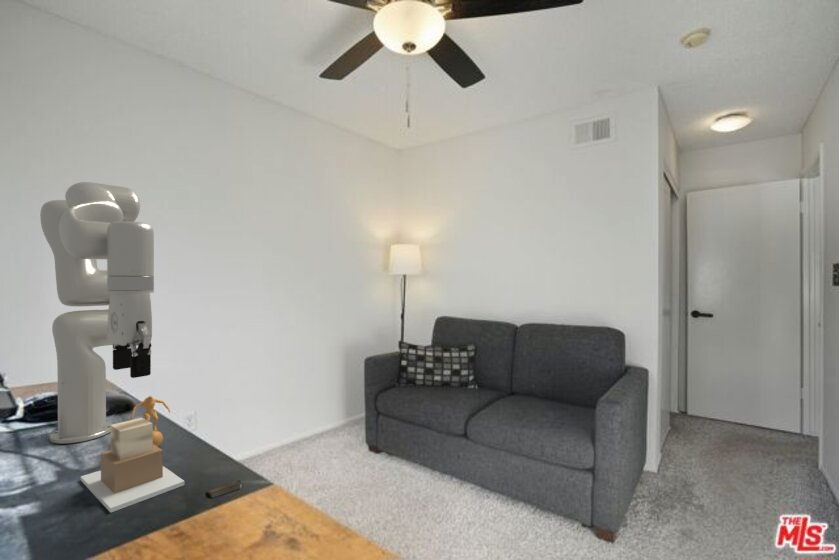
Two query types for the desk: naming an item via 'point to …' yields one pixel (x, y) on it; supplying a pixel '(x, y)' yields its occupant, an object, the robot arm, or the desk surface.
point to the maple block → (131, 438)
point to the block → (225, 489)
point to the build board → (132, 492)
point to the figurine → (149, 406)
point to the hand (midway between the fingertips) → (131, 372)
